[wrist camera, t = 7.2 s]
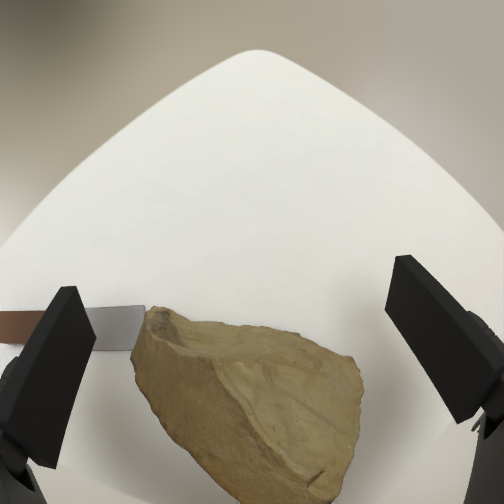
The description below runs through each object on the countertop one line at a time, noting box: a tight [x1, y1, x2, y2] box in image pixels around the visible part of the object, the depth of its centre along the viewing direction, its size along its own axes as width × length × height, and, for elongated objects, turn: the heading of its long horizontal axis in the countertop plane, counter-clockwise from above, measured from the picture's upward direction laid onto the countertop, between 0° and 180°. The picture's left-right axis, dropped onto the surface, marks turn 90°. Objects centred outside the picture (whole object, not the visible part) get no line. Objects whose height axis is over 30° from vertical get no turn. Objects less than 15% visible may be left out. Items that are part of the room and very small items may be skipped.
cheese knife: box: [0, 305, 145, 351], centre depth 15 cm, size 10×2×1 cm, turn 96°
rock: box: [130, 306, 364, 504], centre depth 13 cm, size 11×9×10 cm
